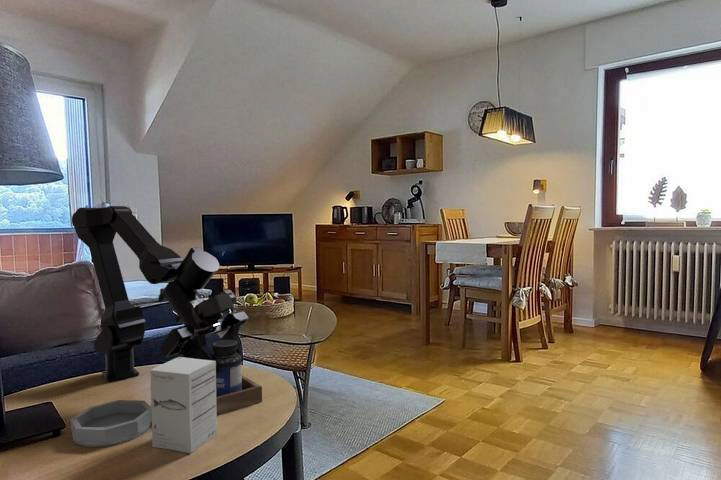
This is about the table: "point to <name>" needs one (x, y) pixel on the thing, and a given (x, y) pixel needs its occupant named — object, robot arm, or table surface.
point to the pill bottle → (227, 367)
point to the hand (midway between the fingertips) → (230, 366)
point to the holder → (240, 397)
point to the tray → (111, 423)
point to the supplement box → (183, 404)
